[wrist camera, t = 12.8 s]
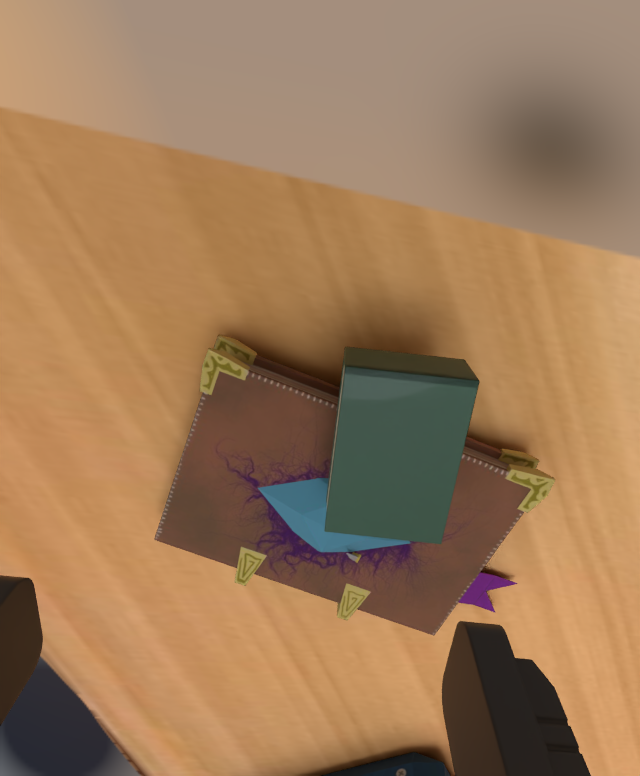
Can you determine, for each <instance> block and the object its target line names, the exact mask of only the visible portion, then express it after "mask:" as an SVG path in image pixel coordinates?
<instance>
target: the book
mask: <svg viewBox="0 0 640 776" xmlns="http://www.w3.org/2000/svg"><path fill="white" fill-rule="evenodd" d="M200 391H201V392H203V393H202V396H201V399H200V403H199V406H198V409H197V412H196V415H195V418H194V421H193V424H192V427H191V430H190V433H189V436H188V439H187V442H186V445H185V448H184V451H183V454H182V457H181V460H180V463H179V466H178V469H177V472H176V475H175V478H174V481H173V484H172V487H171V490H170V493H169V496H168V499H167V502H166V505H165V508H164V511H163V514H162V517H161V520H160V523H159V526H158V529H157V532H156V535H155V538H154V539H155V540H157V541H160V542H162V543H165V544H168V545H171V546H174V547H177V548H180V549H183V550H186V551H189V552H192V553H195V554H198V555H200V556H203V557H206V558H209V559H212V560H215V561H218V562H221V563H224V564H227V565H230V566H233V567H235V568H237V572H236V577H235V583H238V584H241V585H244V586H246V584H247V583H248V581H249V580H250V579H251V577H252V576H253V574H256V575H259V576H262V577H265V578H268V579H270V580H273V581H276V582H279V583H282V584H285V585H288V586H291V587H294V588H297V589H300V590H303V591H306V592H308V593H311V594H314V595H317V596H320V597H323V598H326V599H329V600H332V601H335V602H338V608H337V617H338V618H341V619H344V620H348V619H349V618H350V617H351V616H352V614H353V613H354V612H355V611H356V610H357V609H358V610H361V611H364V612H367V613H370V614H373V615H376V616H378V617H381V618H384V619H387V620H390V621H393V622H396V623H399V624H402V625H405V626H408V627H411V628H414V629H416V630H419V631H422V632H425V633H428V634H431V635H435V634H436V632H437V631H438V630H439V628H440V627H441V625H442V624H443V623H444V621H445V620H446V619H447V617H448V616H449V614H450V613H451V612H452V610H453V609H454V608H455V606H456V605H457V603H465V604H473V605H476V606H479V607H482V608H484V609H487V610H490V611H493V612H495V611H494V608H493V606H492V604H491V602H490V599H489V597H488V595H487V593H486V591H487V590H491V589H496V588H500V587H505V586H509V585H514V584H517V583H515V582H512V581H509V580H507V579H504V578H501V577H499V576H496V575H492V574H487V573H482V572H481V570H482V569H483V568H484V566H485V565H486V564H487V562H488V561H489V560H490V558H491V557H492V555H493V554H494V553H495V551H496V550H497V549H498V547H499V546H500V544H501V543H502V542H503V540H504V539H505V538H506V536H507V535H508V533H509V532H510V531H511V529H512V528H513V527H514V525H515V524H516V522H517V521H518V520H519V518H520V517H521V516H522V514H523V513H524V512H526V513H528V512H529V511H531V510H532V509H533V508H534V507H535V506H536V505H538V504H539V503H540V502H541V501H542V500H543V499H544V498H546V497H547V496H548V494H549V492H550V490H551V488H552V486H553V484H554V482H555V478H553V477H551V476H549V475H548V474H546V473H544V472H542V471H540V470H538V469H536V467H537V465H538V463H539V460H538V459H537V458H535V457H533V456H531V455H529V454H527V453H524V452H519V451H514V450H508V449H503V448H502V449H501V450H500V449H497V448H494V447H492V446H489V445H487V444H484V443H482V442H479V441H476V440H474V439H471V438H469V437H466V441H465V445H464V449H463V454H462V458H461V462H460V466H459V471H458V475H457V479H456V484H455V488H454V492H453V496H452V501H451V505H450V509H449V513H448V518H447V522H446V526H445V531H444V535H443V539H442V543H441V544H433V543H424V542H414V541H405V540H396V539H387V538H378V537H369V536H359V535H350V534H341V533H332V532H325V531H324V529H325V520H326V511H327V502H326V495H327V487H328V479H329V471H330V463H331V455H332V447H333V439H334V431H335V423H336V415H337V407H338V399H339V391H340V387H338V386H335V385H333V384H330V383H328V382H325V381H322V380H320V379H317V378H315V377H312V376H310V375H307V374H305V373H302V372H299V371H297V370H294V369H292V368H289V367H287V366H284V365H281V364H279V363H276V362H274V361H271V360H269V359H266V358H263V357H261V356H258V355H257V353H256V352H255V351H253V350H252V349H250V348H249V347H247V346H246V345H244V344H242V343H241V342H239V341H238V340H236V339H234V338H230V337H227V336H223V335H220V334H219V335H218V337H217V340H216V343H215V345H214V348H213V349H212V348H209V349H208V352H207V354H206V357H205V360H204V363H203V365H202V374H201V383H200Z"/></svg>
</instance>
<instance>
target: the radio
mask: <svg viewBox="0 0 640 776" xmlns="http://www.w3.org/2000/svg"><path fill="white" fill-rule="evenodd" d="M322 776H450V774H449V772H448V770H447V769H446V767H445V765H444V763H443V762H440V761H438V760H435V759H432V758H429V757H426V756H424V755H421V754H418V753H415V752H412V753H408V754H404V755H401V756H397V757H393V758H389V759H385V760H381V761H377V762H373V763H369V764H365V765H361V766H357V767H353V768H349V769H346V770H342V771H338V772H334V773H330V774H326V775H322Z"/></svg>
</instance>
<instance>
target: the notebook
mask: <svg viewBox="0 0 640 776" xmlns="http://www.w3.org/2000/svg"><path fill="white" fill-rule="evenodd" d="M478 385H479V380H478V378H477V377H476V375H475V374H474V373H473V371H472V370H471V368H470V367H469V365H468V364H467V362H466V361H465V360H464V359H455V358H446V357H437V356H427V355H418V354H409V353H400V352H391V351H382V350H372V349H363V348H354V347H345V351H344V359H343V367H342V375H341V383H340V391H339V399H338V407H337V415H336V423H335V431H334V439H333V447H332V455H331V463H330V471H329V479H328V487H327V495H326V502H327V511H326V520H325V529H324V531H325V532H332V533H341V534H350V535H359V536H369V537H378V538H387V539H396V540H405V541H414V542H424V543H433V544H441V543H442V539H443V535H444V531H445V526H446V522H447V518H448V513H449V509H450V505H451V501H452V496H453V492H454V488H455V484H456V479H457V475H458V471H459V466H460V462H461V458H462V454H463V449H464V445H465V441H466V437H467V432H468V428H469V424H470V419H471V415H472V411H473V407H474V402H475V398H476V394H477V390H478Z"/></svg>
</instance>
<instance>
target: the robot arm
mask: <svg viewBox="0 0 640 776" xmlns="http://www.w3.org/2000/svg"><path fill="white" fill-rule="evenodd" d="M42 642H43V636H42V629H41V623H40V617H39V611H38V606H37V600H36V594H35V588H34V584H33V582H32V580H31V579H29V578H22V577H12V576H1V575H0V726H1V724H2V722H3V721H4V719H5V717H6V716H7V714H8V712H9V711H10V709H11V708H12V706H13V704H14V703H15V701H16V699H17V698H18V696H19V695H20V693H21V691H22V690H23V688H24V686H25V685H26V683H27V681H28V680H29V678H30V677H31V675H32V673H33V671H34V669H35V667H36V665H37V663H38V659H39V657H40V653H41V649H42ZM442 705H443V714H444V719H445V725H446V730H447V735H448V740H449V746H450V751H451V756H452V761H453V767H454V772H455V776H591V775H590V773H589V770H588V768H587V765H586V763H585V761H584V758H583V756H582V754H580V753H579V749H578V748H579V746H578V744H577V741H576V739H575V736H574V734H573V732H572V729H571V727H570V726H568V723H567V720H568V719H567V717H566V715H565V712H564V710H563V707H562V705H561V702H560V700H559V698H558V695H557V693H556V690H555V688H554V687H553V685H552V684H551V683H550V682H549V680H548V679H547V678H546V677H545V675H544V674H543V673H542V672H541V670H540V669H539V668H538V667H537V666H536V664H535V663H534V662H533V661H532V660H529V659H519V658H515V657H514V654H513V651H512V649H511V646H510V643H509V640H508V637H507V635H506V632H505V630H504V629H503V627H502V626H500V625H494V624H484V623H474V622H463V621H460V622H459V623H458V624H457V627H456V630H455V634H454V638H453V642H452V645H451V649H450V653H449V657H448V661H447V664H446V668H445V672H444V676H443V683H442Z"/></svg>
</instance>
